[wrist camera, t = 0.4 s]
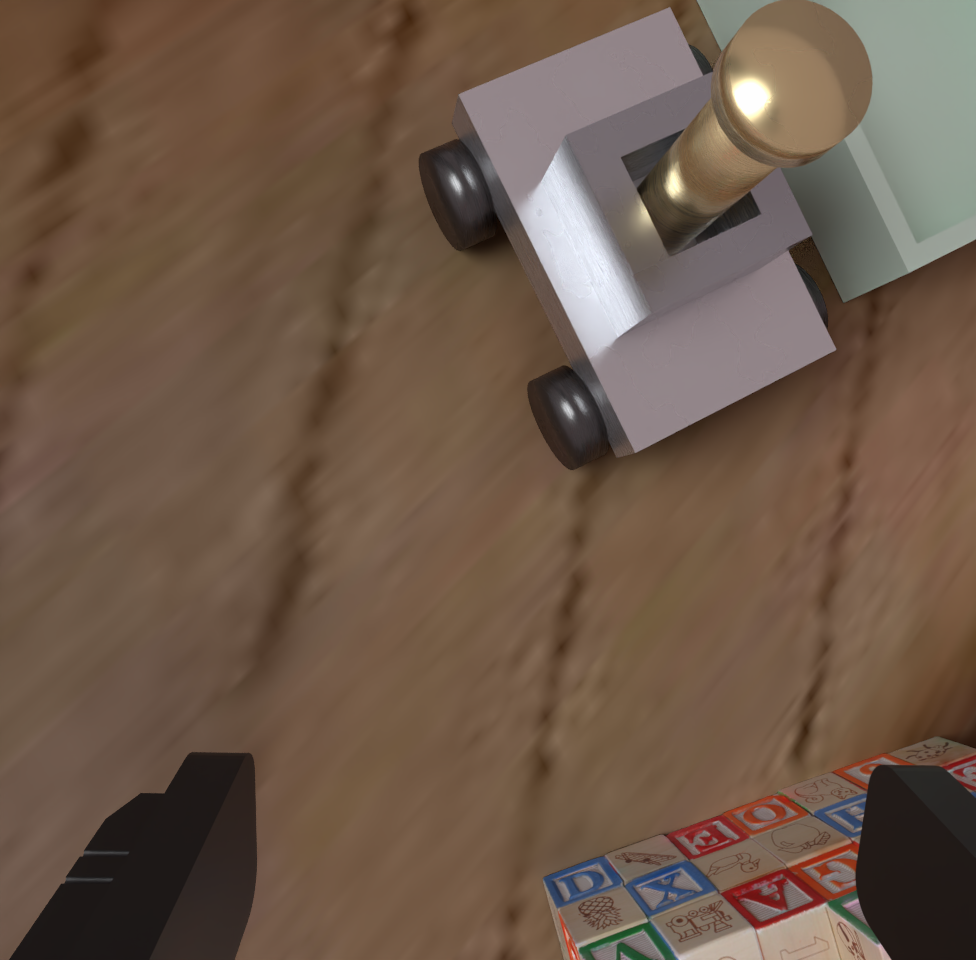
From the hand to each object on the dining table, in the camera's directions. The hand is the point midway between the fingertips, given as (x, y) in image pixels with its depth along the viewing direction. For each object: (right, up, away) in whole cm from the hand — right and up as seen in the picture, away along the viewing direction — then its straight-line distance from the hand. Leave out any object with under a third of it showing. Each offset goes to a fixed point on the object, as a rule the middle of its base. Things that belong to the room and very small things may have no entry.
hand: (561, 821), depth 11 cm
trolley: (+5, +15, +29) cm, 33 cm away
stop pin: (+6, +15, +23) cm, 28 cm away
